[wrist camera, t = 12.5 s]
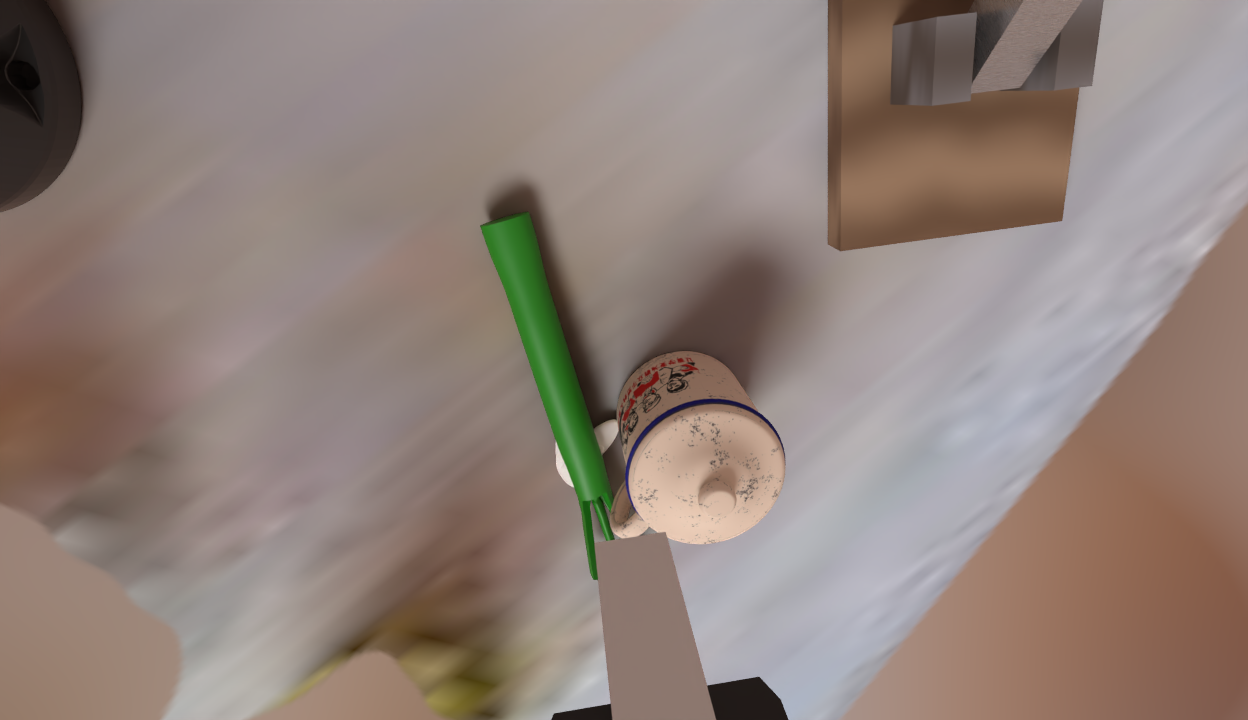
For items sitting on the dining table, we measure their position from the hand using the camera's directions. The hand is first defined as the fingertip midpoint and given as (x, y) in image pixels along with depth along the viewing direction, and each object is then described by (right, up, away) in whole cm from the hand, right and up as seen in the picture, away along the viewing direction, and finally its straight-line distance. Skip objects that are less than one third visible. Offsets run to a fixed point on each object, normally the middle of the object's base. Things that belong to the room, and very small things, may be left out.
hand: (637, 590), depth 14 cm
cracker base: (+18, +25, +24) cm, 39 cm away
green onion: (-3, 0, +32) cm, 32 cm away
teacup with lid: (+2, +1, +32) cm, 32 cm away
